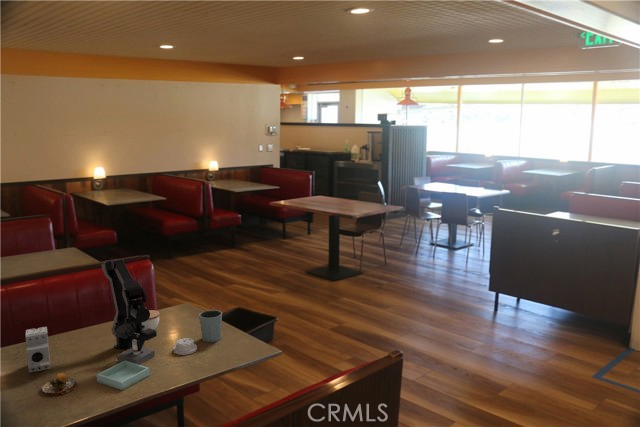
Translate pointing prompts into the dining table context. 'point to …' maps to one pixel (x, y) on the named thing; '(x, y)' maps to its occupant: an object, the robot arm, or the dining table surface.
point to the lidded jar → (152, 320)
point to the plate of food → (59, 385)
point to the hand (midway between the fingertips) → (136, 350)
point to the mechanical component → (185, 346)
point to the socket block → (142, 357)
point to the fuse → (135, 348)
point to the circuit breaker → (37, 349)
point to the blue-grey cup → (211, 325)
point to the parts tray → (123, 375)
